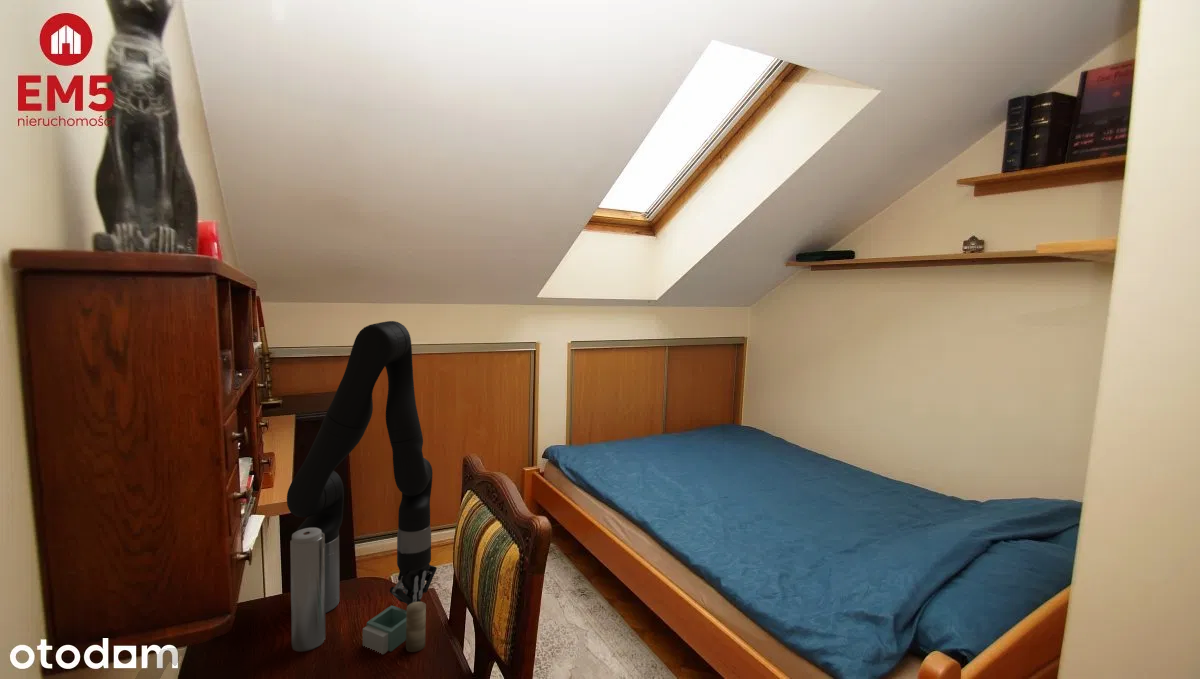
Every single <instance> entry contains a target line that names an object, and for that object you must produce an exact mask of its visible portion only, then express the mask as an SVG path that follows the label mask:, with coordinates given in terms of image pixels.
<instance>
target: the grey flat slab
mask: <svg viewBox="0 0 1200 679" xmlns="http://www.w3.org/2000/svg"><path fill="white" fill-rule="evenodd" d="M364 646H365V647H364ZM362 647H364V648H366V647H367V648H366V649H368V648H370V649H369V650H371V649H372V650H371V651H373V650H375V651H374V652H376V651H377V652H376V653H378V652H379V653H378V654H380V653H381V655H385V654H386V653H387V652H389V651H388V633H387V632H384V631H382V630H379V629H376V628H374V627H371V626H369V625H367V624H366V626H364V627H363V628H362Z"/></svg>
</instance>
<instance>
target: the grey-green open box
mask: <svg viewBox="0 0 1200 679" xmlns="http://www.w3.org/2000/svg"><path fill="white" fill-rule="evenodd" d="M406 610H407V609H403V608H400V607H397V606H394V605H392V604H391V605H390V606H388V607H387V608H385V609H384V610H383V611H381V612H380V613H378V614H377V615H375V616H374V617H373V618H371V619H369V620H368V621H367V622H366V626H367V625H369V626H371V627H374V628H376V629H379V630H382V631H384V632H387V633H388V651H387V652H393V651H394V650H395V649H396V648H397V647H399V646H400V645H402V644H404V642H406Z"/></svg>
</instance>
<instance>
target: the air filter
mask: <svg viewBox="0 0 1200 679" xmlns="http://www.w3.org/2000/svg"><path fill="white" fill-rule="evenodd" d="M289 543H290V545H289V546H290V548H289V549H290V607H291V608H290V610H291V611H290V618H291V619H290V620H291V621H290V622H291V624H290V625H291V628H290V629H291V648H292V650H293V651H296V652H301V653H303V652H308V651H312V650H315V649H316V648H318V647H320V646H321V645H323V643H324V642H325V641H324V640H326V613H325V534H324V532H322V531H321V529H319V528H305V529H301V530H298V531H297V530H296V531H295V532H293V533H292V534H291V540H290V541H289Z"/></svg>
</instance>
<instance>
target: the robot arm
mask: <svg viewBox="0 0 1200 679" xmlns="http://www.w3.org/2000/svg"><path fill="white" fill-rule="evenodd" d="M384 369H385V370H386V374H387V386H388V387H387V397H386V405H385V424H386V429H387V433H388V438H389V443H390V446H391V449H392V464H393V466H392V467H393V476H394V480H395V481H394V482H395V484H396V487H397V488H398V491H399V492H400V493H401V501H400V503H399V507H398V519H397V522H398V523H397V524H398V525H397V527H398V528H397V529H398V530H397V534H396V536H397V537H396V565H397V568H398V570H399V573H398V575H397V583H396V584H395V586H391V587H390V588H389V593H390V594H391V595H393V597H395V598H396V599H397V600H398V601H399V602H401V603H404V604H407V605H406V607H407V606H408V605H409V604H411V603H413V602H422V601H421V600H422V598H423V594H426V593H428V591H429V588H430V586H431V583H432V581H433V578H434V576H435V574H436V572H437V569H438V567H436V566H435V565H431V561H432V529H431V495H432V485H433V466H432V464H431V462H430V461H429V460H428V459H427V458H425V457H424V454H423V446H424V436H423V431H422V427H421V423H420V417H419V413H418V408H417V402H416V395H415V393H416V392H415V384H414V383H415V381H414V369H413V348H412V338H411V335H410V332H409V330H408V329H407V327H406V326H405V325H404V324H403V323H400V322H398V321H395V320H388V321H387V320H386V321H382V322H376V323H372V324H369V325H367V326H364V327H363V328H362V329H361V330H360V331H359V332H358V334H356V336H355V339H354V341H353V344H352V349H351V350H350V355H349V358H348V361H347V364H346V367H345V370H344V373H343V375H342V378H341V381H340V383H339V385H338V387H337V389H336V392H335V394H334V396H333V399H332V400H331V402H330V404H329V407H328V408H327V411H326V413H325V416H324V418H323V420H322V422H321V424H320V427H319V430H318V432H317V434H316V436H315V439H314V440H313V443H312V445H311V447H310V448H309V452H308V454H307V455H306V457H305V460H304V461H303V463H302V464H301V466H300V467H299V469H298V471H297V473H296V474H295V476H294V478H293V479H292V481H291V483H290V485H289V487H288V490H287V494H286V504H287V509H288V510H289V512H290V513H291V515H293V516H295V517H297V518H305V520H304V521H302V523H301V524H300V525H299V526H298V527H297V529H296V531H298V530H301V529H305V528H319V529H321V531H322V532H324V534H325V614H326V613H328V612H331V611H332V610H333V609H335V608H336V607H337V606H338V605H339V602H340V528H341V527H342V524H343V517H344V502H345V501H344V500H345V499H344V498H345V490H344V489H345V488H344V484H343V479H342V478H341V476H340V475H339V473H338V472H336V471H335V469H336V468H337V467H338V466H339V465H340V464H341V463H342V462H343V460H345V459H346V458H347V456H348V455H349V454H351V452H352V451H353V450H354V449H355V448H356V446H357V445H358V444H359V443H360V441H361V440H362V438H363V436H364V435H365V432H366V430H367V428H368V426H369V424H370V421H371V419H372V417H373V410H374V408H373V407H374V404H373V393H374V392H373V391H374V387H375V385H376V383H377V381H378V379H379V377H380V375H381V373H382V371H383V370H384Z"/></svg>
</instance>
